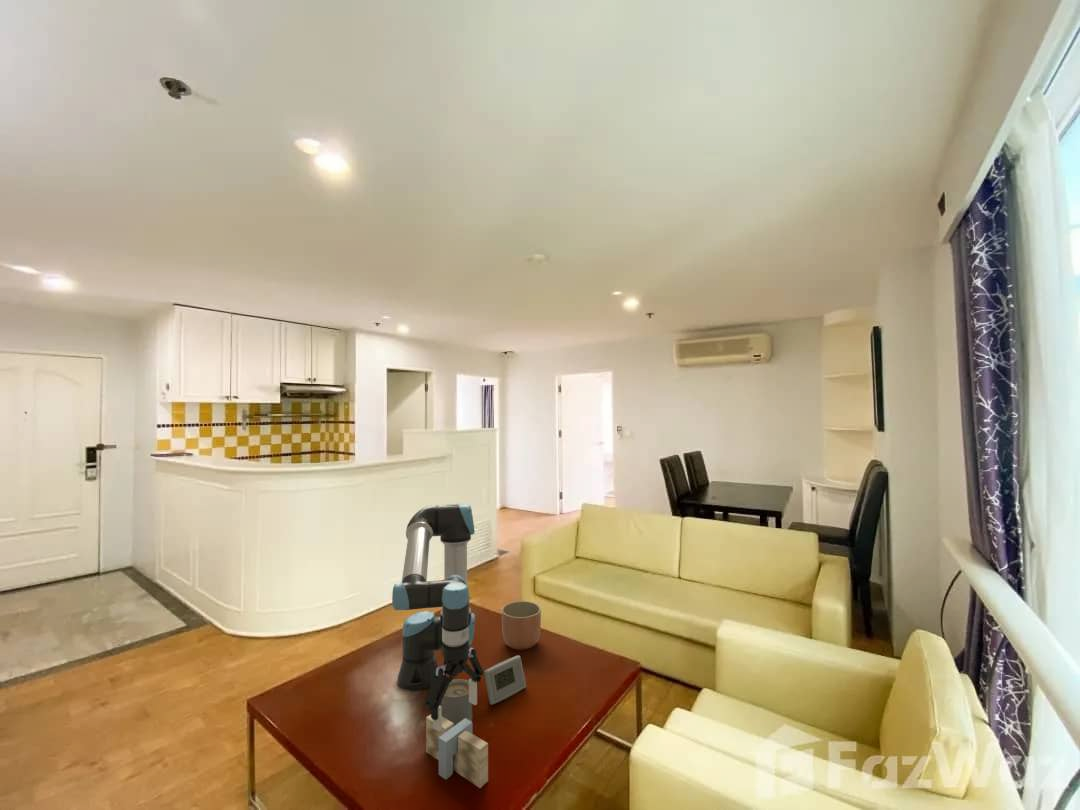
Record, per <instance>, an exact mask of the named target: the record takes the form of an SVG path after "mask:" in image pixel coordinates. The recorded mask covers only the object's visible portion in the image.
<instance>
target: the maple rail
mask: <svg viewBox="0 0 1080 810" xmlns="http://www.w3.org/2000/svg"><path fill="white" fill-rule="evenodd" d="M425 720H426V721H425V724H426V725H425V727H426V728H425V752H426V753H427V754H428V755H430V756H431V757H433V758H434V759H436V760H437V761H439V737H440V736H442V735H443V734H444V733H446V732H447V731H448V730H450V729H451V728H452V727H454V723H452V722H451V721H449V720H447V719H446V718H444V717H442V731H440V732H438V731H437V730H435V729H434V728H433V719H432V718H431V713H430V714H429V715H427V716H426V717H425ZM453 772H456V773H457V774H458V775H460V776H461V777H463V778H464V779H466V780H467V781H468V782H470V783H471V784H473V785H475V786H476V787H477V788H479V789H481V788H483V786H485V784H486V783H488V782H489V743H488V742H486V741H485V740H483V739H481V738H480V737H478V736H476V735H475V734H473V733H472V734H471V733H470V732H468V731H464V732H463V733H462V734H460V735H459V736H458V752H457V753H455V754H454V755H453Z"/></svg>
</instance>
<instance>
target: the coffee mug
mask: <svg viewBox="0 0 1080 810" xmlns="http://www.w3.org/2000/svg"><path fill="white" fill-rule="evenodd" d="M440 706H442V717H444V718H446V719H447V720H449V721H451V722H452V723H454V726H455V725H456V724H458V723H459V722H461V721H462V720H463V719H465V718H466V719H468V720H469V721H471V722H472V720H473V704H472V703H470V702H469V680H468V679H463V678H456V679H453V680H452V681H451V682H450V683H449V685H448V687H447V690H446V692H445V694H444V696H443V699H442V701H441V703H440Z"/></svg>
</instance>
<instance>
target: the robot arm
mask: <svg viewBox="0 0 1080 810" xmlns="http://www.w3.org/2000/svg"><path fill="white" fill-rule="evenodd" d="M474 534H476V533H475V523H474V516H473V512H472V506H471V505H470V504H468V503H451V504H448V503H447V504H432V505H431V504H430V505H427V506H425V507H423V508H421V509H420V510H418V511H417V512H416V513H415V514H414V515H413V516H412V517H411V518H410V520H409V522H408V524H407V526H406V530H405V537H406V539H407V543H406V550H405V556H404V563H403V570H402V578H401V582H398V583H395V584H394V585H393V588H392V594H391V599H392V600H391V605H392V609H394V610H395V611H410V610H419V609H429V608H430V609H431V608H435V609H436V608H442V609H441V610H440V611H439V612H440V615H437V616H436V615H435V613H434V612H433V611H429V610H425V611H419V612H416V613H414V614H411V615H409V616H408V617H407V618H406V619H405V620H404V621H403V624H402V633H401V635H402V660H401V664H400V668H399V671H398V672H397V685H398V686H399V688H401V689H403V690H404V691H405V690H406V691H413V692H414V691H422V690H425V689H428V688H429V689H428V693H427V696H426V699H425V701H424V708H427V709H429V710H430V714H431V718H432V719H433V728H434V729H435V730H437V731H438V732H440V731H442V706H441V701H442V699H443V696H444V694H445V692H446V690H447V687H448V685H449V683H450V682H451V681H452V680H454V678H456V677H457V675H458V674H462V673H463V671H464V673H466V674H467V675H468V676H469V677H470V679H468V681H469V702H470V703H472V705H474V706H476V705H478V690H479V682H481V680H482V676H483V675H484V670H483V667H482V666H481V663H480V661H479V658H478V655H477V650H476V649H475V648H473V647H471V645H472V643H473V640H474V634H475V624H476V623H475V621H476V615H475V613H473V612H472V608H471V607H470V589H469V586H468V544H469V542H470V541H471V540H472V536H473V535H474ZM433 537H440V542H441V543H442V544H443V545H444V554H443V555H444V559H443V560H444V564H443V565H444V578H443V579H441V580H439V579H438V580H428V578H427V577H428V566H429V554H430V553H429V551H430V541H431V539H432V538H433ZM435 651H442V653H441V655H442V658H443V664H442V665H441V666H439V665H438V663H437V660H436V656H435ZM468 660H469V662H470V663H471V666H472V668H473V669H472V668H471V666H470V665H469V664H468V663H467V661H468ZM447 675H448V676H447Z"/></svg>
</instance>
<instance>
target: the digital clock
mask: <svg viewBox="0 0 1080 810" xmlns="http://www.w3.org/2000/svg"><path fill="white" fill-rule="evenodd" d="M483 672H484V673H483V675H484V681H485V687H486V693H487V697H488V702H489V705H491V706H493V705H495V704H497V703H500V702H503V701H505V700H506V699H508V698H510V697H512V696H514V695H516V694H518V693H520V691H522V690H523V689H526V686H527V683H526V677H525V672H524V667H523V663H522V658H521V656H520V655H515V656H513V657H509V658H507V659H505V660H503V661H501V662H498V663H497V664H494V665H492V666H490V667H489V668H487V669H485V670H483ZM502 700H503V701H502Z"/></svg>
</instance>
